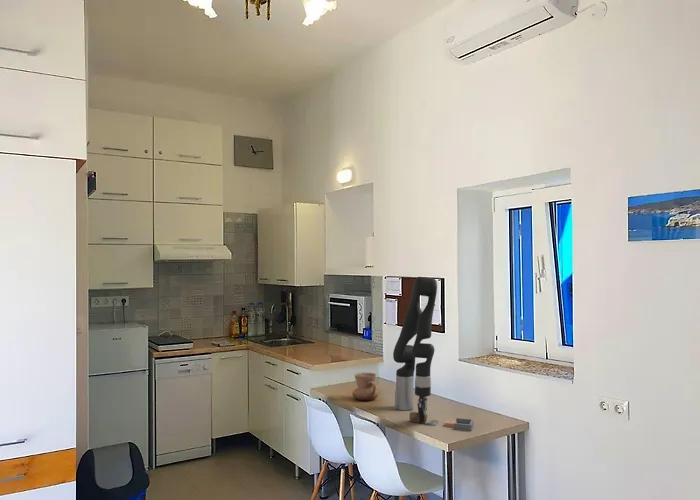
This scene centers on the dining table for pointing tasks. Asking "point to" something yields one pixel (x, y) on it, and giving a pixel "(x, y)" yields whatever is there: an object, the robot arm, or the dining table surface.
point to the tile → (450, 423)
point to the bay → (464, 424)
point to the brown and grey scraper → (415, 418)
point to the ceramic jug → (365, 386)
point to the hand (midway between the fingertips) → (422, 421)
